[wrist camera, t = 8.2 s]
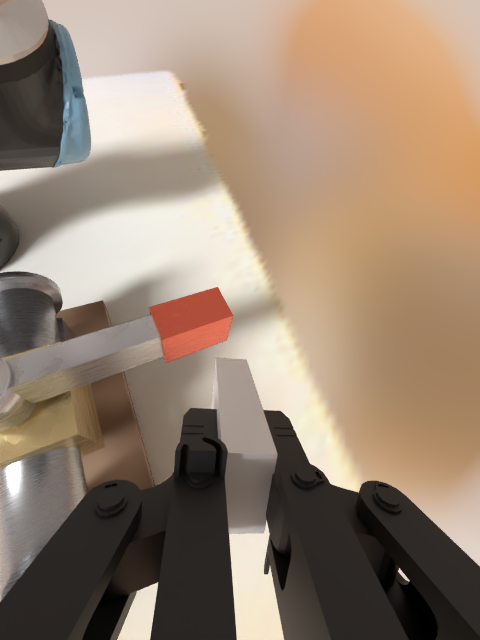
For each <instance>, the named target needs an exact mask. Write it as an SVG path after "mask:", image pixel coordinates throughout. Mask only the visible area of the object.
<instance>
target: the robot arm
mask: <svg viewBox="0 0 480 640" xmlns="http://www.w3.org/2000/svg"><path fill="white" fill-rule="evenodd" d="M90 150H91V134H90V125H89V117H88V111H87V105H86V100H85V97H84V94H83V86H82V78H81V73H80V69H79V65H78V60H77V56H76V52H75V49H74V45H73V43H72V40H71V37H70V34H69V32H68V30H67V29H66V28H65V27H64V26H63V25H61V24H58V23H56V22H54V21H52V20H49V19H48V16H47V12H46V10H45V7H44V4H43V2H42V0H0V171H1V170H16V169H30V168H44V167H52V168H54V167H59V166H60V165H65V164H71V163H78V162H82V161H84V160H85V159H86V158H87V157H88V156H89V154H90ZM18 241H19V233H18V229H17V227H16V225H15V224H14V222H13V221H12V219H11V218H10V216H9V215H8V213H7V212H6V211H5V210H4V209H3V208H2V207H1V206H0V268H1V267H2V266H3V265H4V264H5V263H6V262H7V261H8V260H9V259H10V258H11V256H12V255H13V254H14V252H15V250H16V248H17V245H18ZM266 519H267V523H268V528H269V533H270V536H269V541H268V547H267V553H266V558H265V564H264V574H268V572H269V567H270V566H271V572H272V577H273V582H274V587H275V593H276V598H277V603H278V609H279V614H280V619H281V624H282V630H283V635H284V640H480V566H478V565H477V564H476V563H475V562H474V561H473V560H472V559H471V558H470V557H469V556H468V555H467V554H466V553H465V552H464V551H463V550H461V548H460V547H459V546H458V545H456V543H454V542H453V541H452V540H451V539H450V538H449V537H448V536H447V535H446V534H445V533H444V532H443V531H442V530H441V529H440V528H439V527H438V526H437V525H436V524H435V523H434V522H433V521H431V520H430V519H429V518H428V517H427V516H426V515H425V514H424V513H423V512H422V511H421V510H420V509H419V508H418V507H417V506H416V505H415V504H414V503H413V502H412V501H411V500H410V499H408V498H407V497H406V496H405V495H404V494H403V493H401V492H400V491H399V490H398V489H396V488H394V487H392V486H390V485H388V484H386V483H383V482H379V481H367V482H365V483H363V484H362V486H361V488H360V491H359V493H358V492H354V491H351V490H347V489H343V488H340V487H337V486H334V485H332V484H330V483H329V481H328V479H327V477H326V476H325V475H324V473H323V472H322V471H321V470H319V469H318V468H317V467H315V466H313V465H311V464H310V463H309V461H308V459H307V457H306V454H305V452H304V450H303V448H302V446H301V444H300V441H299V439H298V437H297V435H296V433H295V431H294V430H293V426H292V424H291V422H290V420H289V418H288V417H286V416H285V415H284V414H283V413H282V412H281V411H268V410H263V408H262V405H261V402H260V399H259V396H258V393H257V390H256V387H255V384H254V381H253V378H252V375H251V372H250V369H249V366H248V363H247V360H242V359H227V358H216V363H215V373H214V383H213V393H212V403H211V409H199V408H190V409H189V410H188V412H187V413H186V414H185V415H184V418H183V426H182V432H181V439H180V443H179V444H178V446H177V448H176V452H175V466H174V473H173V474H172V476H171V477H170V478H169V479H167V480H166V481H165V482H163V483H161V484H160V485H157V486H154V487H152V488H148V489H144V490H140V489H139V488H138V486H137V485H136V484H135V483H133V482H130V481H128V480H117V479H115V480H111V481H107V482H104V483H102V484H100V485H98V486H96V487H94V488H93V489H92V490H91V491H90V492H88V493H87V494H86V495H85V496H84V497H83V499H82V500H81V501H80V502H79V504H78V505H77V506H76V508H75V509H74V510H73V511H72V513H71V514H70V515H69V516H68V518H67V519H66V520H65V521H64V523H63V524H62V525H61V526H60V528H59V529H58V530H57V531H56V533H55V534H54V535H53V536H52V538H51V539H50V540H49V541H48V543H47V544H46V545H45V547H44V548H43V549H42V550H41V552H40V553H39V554H38V555H37V557H36V558H35V559H34V560H33V562H32V563H31V564H30V565H29V567H28V568H27V569H26V570H25V572H24V573H23V574H22V575H21V577H20V578H19V579H18V580H17V582H16V583H15V584H14V585H13V587H12V588H11V589H10V591H9V592H8V593H7V594H6V596H5V597H4V598H3V599H2V601H1V602H0V640H117V638H118V636H119V634H120V631H121V629H122V626H123V624H124V622H125V619H126V617H127V614H128V612H129V610H130V607H131V605H132V602H133V600H134V598H135V595H136V592H137V591H138V590H140V589H143V588H145V587H147V586H150V585H152V584H155V583H157V582H159V583H158V590H157V597H156V603H155V610H154V617H153V624H152V631H151V638H150V640H237V638H236V624H235V611H234V597H233V583H232V570H231V556H230V543H229V534H244V533H264V531H265V525H266ZM399 568H400V569H401V570H402V572H403V573H404V574H405V575H406V577H407V578H408V579H409V580H410V581H409V582H408V581H406V580H405V579H404V578H403V577H402V576H401V575H400V574H399V572H398V570H399Z"/></svg>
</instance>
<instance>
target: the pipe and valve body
mask: <svg viewBox="0 0 480 640" xmlns="http://www.w3.org/2000/svg"><path fill="white" fill-rule="evenodd" d="M61 308H62V297H61V292H60V289H59V287H58V286H57V284H56V283H55V282H53V281H52V280H50V279H49V278H47V277H44V276H42V275H38V274H34V273H29V272H4V273H0V358H2V359H3V360H5V359H9V358H12V357H15V356H18V355H22V354H25V353H28V352H31V351H35V350H38V349H41V348H44V347H48V346H51V345H54V344H57V343H61V342H64V341H67V340H70V339H74V338H76V336H75V335H74V334H73V332H72V331H71V330H70V328H69V327H68V325H67V324H66V323H65V321H64V320H63V319H62V317H61V318H57V317H56V314H57V313H58V312H59V311H60V310H61ZM103 448H105V446H104V441H103V437H102V432H101V428H100V423H99V418H98V414H97V409H96V404H95V400H94V395H93V390H92V386H91V383H90V384H87V385H84V386H82V387H79V388H76V389H73V390H71V391H68V392H65V393H62V394H60V395H57V396H54V397H51V398H49V399H46V400H43V401H40V402H38V404H37V407H36V409H35V410H34V412H33V413H32V414H31V416H30V417H29V418H28V419H27V420H25V421H24V422H23V423H22V424H20V425H19V426H17V427H15V428H13V429H10V430H7V431H3V432H0V602H1V601H2V599H3V598H4V597H5V596H6V594H7V593H8V592H9V591H10V589H11V588H12V587H13V585H14V584H15V583H16V582H17V580H18V579H19V578H20V577H21V575H22V574H23V573H24V572H25V570H26V569H27V568H28V567H29V565H30V564H31V563H32V562H33V560H34V559H35V558H36V557H37V555H38V554H39V553H40V552H41V550H42V549H43V548H44V547H45V545H46V544H47V543H48V541H49V540H50V539H51V538H52V536H53V535H54V534H55V533H56V531H57V530H58V529H59V528H60V526H61V525H62V524H63V523H64V521H65V520H66V519H67V518H68V516H69V515H70V514H71V513H72V511H73V510H74V509H75V508H76V506H77V505H78V504H79V502H80V501H81V500H82V499H83V497H84V496H85V495H86V494H87V493H88V490H87V484H86V478H85V473H84V467H83V462H82V457H83V456H85V455H88V454H90V453H93V452H95V451H98V450H100V449H103Z"/></svg>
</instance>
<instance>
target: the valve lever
mask: <svg viewBox="0 0 480 640" xmlns="http://www.w3.org/2000/svg"><path fill="white" fill-rule="evenodd" d="M149 309H150V314H151V315H148V316H145V317H142V318H139V319H135V320H132V321H129V322H126V323H122V324H119V325H116V326H113V327H109V328H106V329H103V330H100V331H96V332H93V333H90V334H87V335H83V336H80V337H77V338H74V339H70V340H67V341H64V342H61V343H57V344H54V345H51V346H48V347H44V348H41V349H38V350H35V351H31V352H28V353H25V354H22V355H18V356H15V357H12V358H9V359H5V360H3V359H2V358H0V432H3V431H7V430H10V429H13V428H15V427H17V426H19V425H20V424H22V423H23V422H24V421H25V420H27V419H28V418H29V417H30V416H31V414H32V413H33V412H34V410H35V409H36V407H37V404H38V402H40V401H43V400H46V399H49V398H51V397H54V396H57V395H60V394H62V393H65V392H68V391H71V390H73V389H76V388H79V387H82V386H84V385H87V384H90V383H93V382H95V381H98V380H101V379H104V378H106V377H109V376H112V375H115V374H117V373H120V372H123V371H126V370H128V369H131V368H134V367H137V366H139V365H142V364H145V363H148V362H150V361H153V360H156V359H159V358H161V357H164V359H165V362H166V363H167V362H169V361H172V360H175V359H178V358H180V357H183V356H186V355H188V354H191V353H194V352H196V351H199V350H202V349H204V348H207V347H210V346H212V345H215V344H218V343H220V342H223V341H226V340H227V337H228V333H229V330H230V326H231V322H232V318H233V315H232V313H231V311H230V309H229V307H228V305H227V303H226V301H225V300H224V298H223V296H222V294H221V292H220V290H219V288H218V287H216V288H213V289H209V290H206V291H202V292H199V293H196V294H192V295H189V296H186V297H182V298H179V299H176V300H172V301H169V302H166V303H162V304H159V305H155V306H152V307H149Z"/></svg>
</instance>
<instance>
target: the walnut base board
mask: <svg viewBox="0 0 480 640" xmlns="http://www.w3.org/2000/svg"><path fill="white" fill-rule="evenodd" d="M56 317H57V318H61V317H62V319H63V320H64V321H65V323H66V324H67V325H68V327H69V328H70V330H71V331H72V332H73V334H74V335H75V336H76V338H77V337H80V336H83V335H87V334H90V333H93V332H96V331H100V330H103V329H106V328H109V327H111V324H110V320H109V316H108V312H107V309H106V307H105V305H104V302H103V301H99V302H95V303H91V304H87V305H82V306H78V307H74V308H70V309H66V310H62V311H59V312H58V313H57V314H56ZM91 386H92V390H93V395H94V400H95V404H96V409H97V414H98V418H99V423H100V428H101V432H102V437H103V441H104V446H105V448H103V449H100V450H98V451H95V452H93V453H90V454H88V455H85V456H83V457H82V462H83V467H84V473H85V478H86V484H87V490H88V492H90V491H91V490H92V489H93V488H94V487H96V486H98V485H100V484H102V483H104V482H107V481H111V480H115V479H117V480H128V481H130V482H133V483H135V484H136V485H137V486H138V488H139V489H140V490H144V489H148V488H152V487H154V486H155V485H154V482H153V478H152V474H151V471H150V467H149V463H148V460H147V456H146V452H145V449H144V445H143V441H142V437H141V434H140V430H139V426H138V423H137V419H136V415H135V412H134V408H133V404H132V401H131V397H130V393H129V390H128V386H127V382H126V379H125V375H124V371H123V372H120V373H117V374H115V375H112V376H109V377H106V378H104V379H101V380H98V381H95V382H93V383H91Z"/></svg>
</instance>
